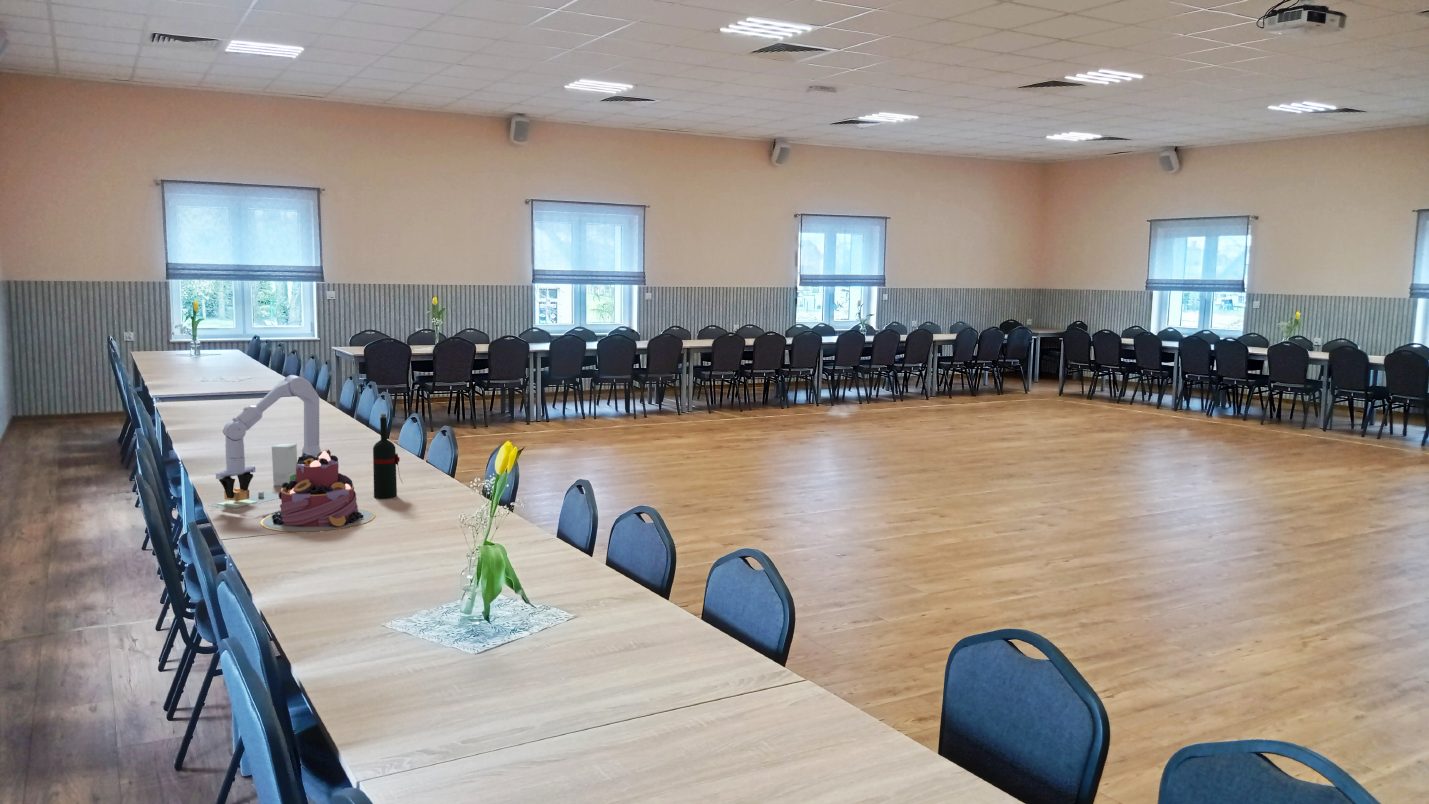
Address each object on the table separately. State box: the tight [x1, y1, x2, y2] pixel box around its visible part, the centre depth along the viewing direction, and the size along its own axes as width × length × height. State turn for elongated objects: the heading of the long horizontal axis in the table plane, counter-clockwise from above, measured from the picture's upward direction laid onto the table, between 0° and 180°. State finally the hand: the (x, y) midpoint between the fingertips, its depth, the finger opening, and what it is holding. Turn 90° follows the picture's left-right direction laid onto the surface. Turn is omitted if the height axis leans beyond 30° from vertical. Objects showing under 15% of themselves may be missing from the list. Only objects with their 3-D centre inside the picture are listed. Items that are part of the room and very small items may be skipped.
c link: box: [223, 487, 250, 501], centre depth 350 cm, size 6×5×3 cm
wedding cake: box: [260, 449, 376, 533], centre depth 333 cm, size 35×35×23 cm
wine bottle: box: [372, 413, 404, 500], centre depth 367 cm, size 8×10×30 cm
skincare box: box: [271, 443, 298, 487], centre depth 383 cm, size 8×7×16 cm
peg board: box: [207, 491, 280, 510], centre depth 355 cm, size 12×24×3 cm, turn 156°
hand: (237, 496), depth 350 cm, fingers closed on c link, 5 cm apart
